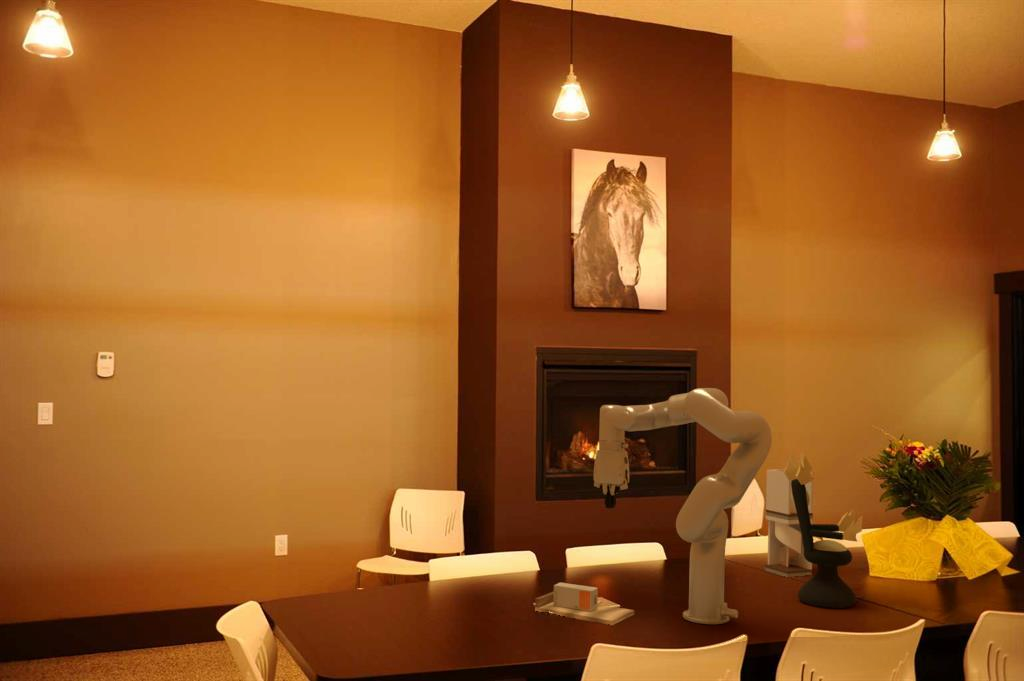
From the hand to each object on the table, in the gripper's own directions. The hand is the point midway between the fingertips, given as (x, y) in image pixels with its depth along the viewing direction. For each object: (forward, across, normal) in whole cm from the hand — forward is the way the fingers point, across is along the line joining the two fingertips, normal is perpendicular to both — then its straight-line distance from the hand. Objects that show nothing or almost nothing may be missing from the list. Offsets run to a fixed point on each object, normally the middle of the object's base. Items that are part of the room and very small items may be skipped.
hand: (610, 507), depth 288 cm
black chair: (+27, -53, -36) cm, 70 cm away
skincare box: (+23, -6, +19) cm, 30 cm away
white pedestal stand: (+27, -33, -73) cm, 85 cm away
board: (+27, -2, +19) cm, 33 cm away
